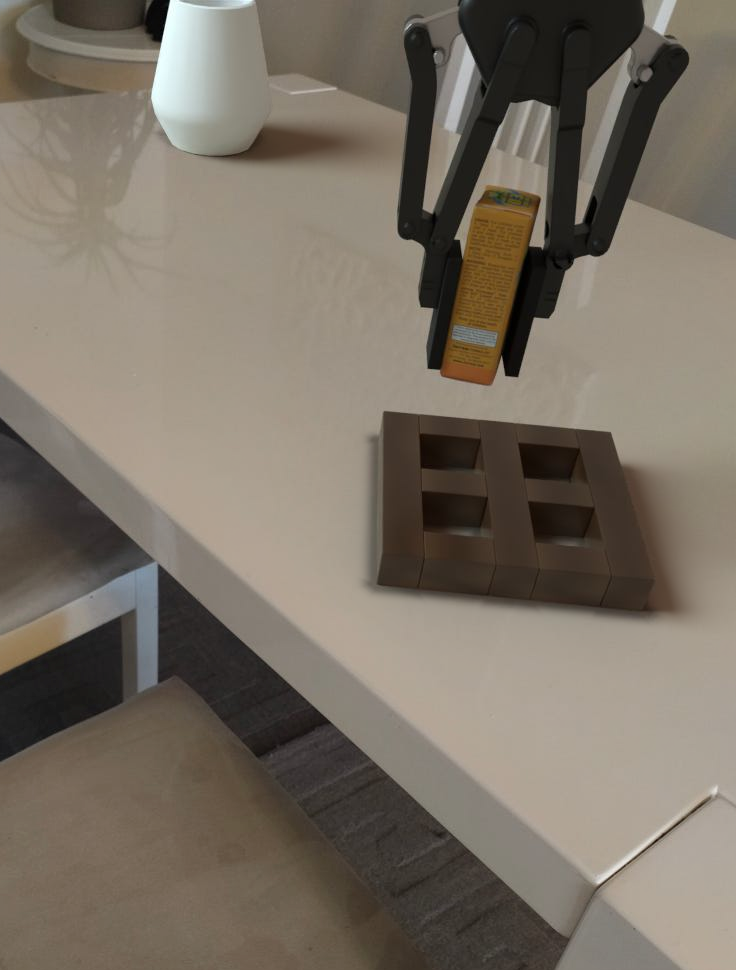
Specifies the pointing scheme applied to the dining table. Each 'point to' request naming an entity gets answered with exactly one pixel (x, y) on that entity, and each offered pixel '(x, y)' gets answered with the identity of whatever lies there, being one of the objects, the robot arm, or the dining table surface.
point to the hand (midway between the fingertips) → (471, 361)
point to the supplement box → (488, 283)
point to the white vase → (212, 77)
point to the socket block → (507, 512)
